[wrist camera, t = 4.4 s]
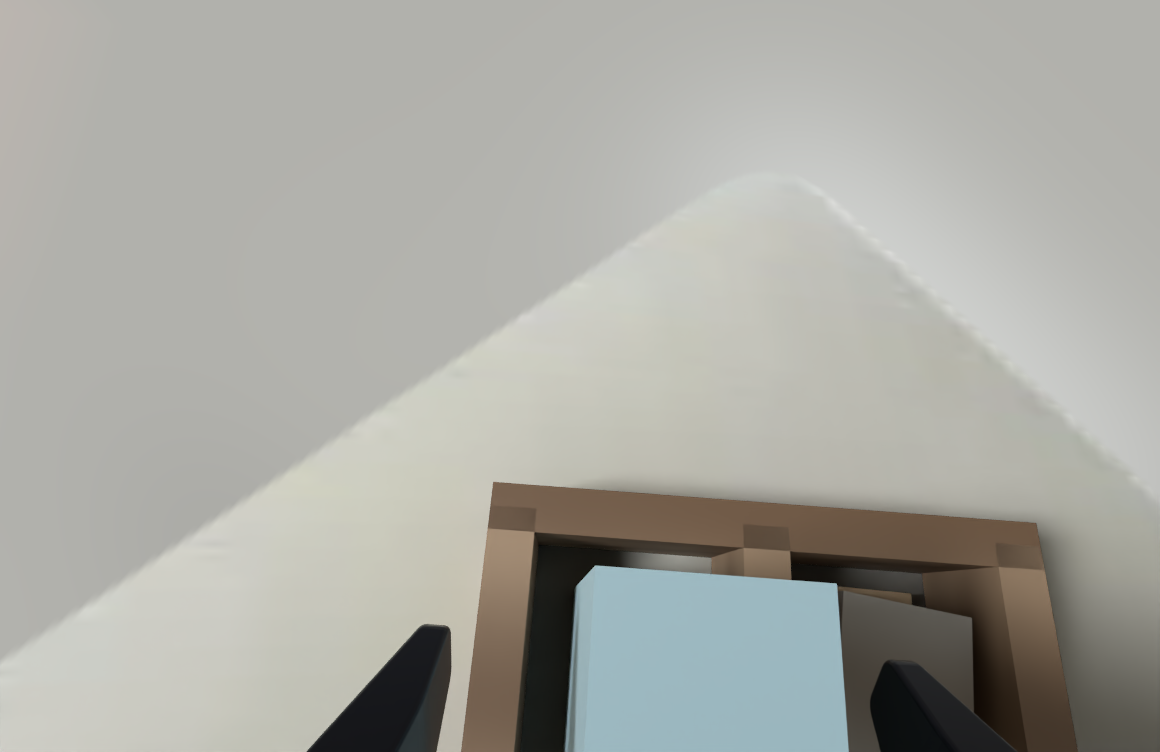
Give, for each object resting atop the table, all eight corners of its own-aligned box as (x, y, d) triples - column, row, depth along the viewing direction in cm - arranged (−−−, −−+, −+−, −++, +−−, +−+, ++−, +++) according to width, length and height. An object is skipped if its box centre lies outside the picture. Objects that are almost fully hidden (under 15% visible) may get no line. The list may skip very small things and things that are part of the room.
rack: (1009, 936, 14) (1127, 1023, 11) (460, 896, 13) (434, 973, 11) (954, 536, 16) (1036, 522, 14) (504, 503, 16) (493, 482, 14)
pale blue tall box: (668, 828, 14) (886, 1283, 5) (558, 820, 14) (554, 1258, 5) (672, 595, 16) (837, 583, 6) (574, 588, 16) (594, 565, 6)
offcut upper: (933, 875, 13) (977, 907, 12) (801, 845, 13) (829, 873, 12) (933, 616, 15) (972, 617, 13) (817, 592, 15) (843, 590, 14)
